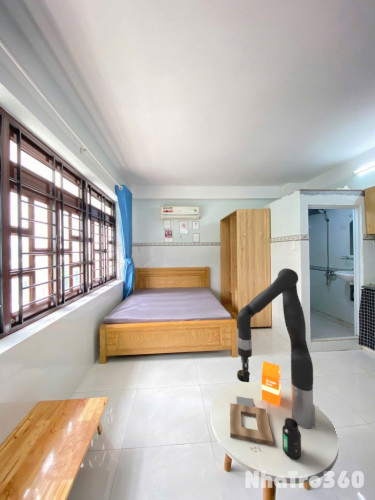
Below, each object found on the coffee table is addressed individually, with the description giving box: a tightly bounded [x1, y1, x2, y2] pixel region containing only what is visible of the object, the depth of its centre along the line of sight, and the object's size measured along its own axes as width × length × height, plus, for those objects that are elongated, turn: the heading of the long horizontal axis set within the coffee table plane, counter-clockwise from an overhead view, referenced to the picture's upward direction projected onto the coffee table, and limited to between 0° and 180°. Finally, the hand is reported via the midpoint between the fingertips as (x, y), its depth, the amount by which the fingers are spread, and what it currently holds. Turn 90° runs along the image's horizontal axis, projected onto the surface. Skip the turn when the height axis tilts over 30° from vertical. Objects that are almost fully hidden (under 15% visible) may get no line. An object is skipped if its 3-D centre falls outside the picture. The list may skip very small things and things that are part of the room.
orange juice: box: [261, 360, 282, 407], centre depth 109 cm, size 8×9×20 cm
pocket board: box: [229, 402, 274, 447], centre depth 92 cm, size 18×18×2 cm
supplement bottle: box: [281, 417, 302, 461], centre depth 79 cm, size 7×7×12 cm
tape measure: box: [236, 369, 251, 383], centre depth 106 cm, size 7×7×4 cm
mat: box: [235, 395, 255, 407], centre depth 105 cm, size 9×8×1 cm
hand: (244, 375), depth 106 cm, fingers closed on tape measure, 7 cm apart
